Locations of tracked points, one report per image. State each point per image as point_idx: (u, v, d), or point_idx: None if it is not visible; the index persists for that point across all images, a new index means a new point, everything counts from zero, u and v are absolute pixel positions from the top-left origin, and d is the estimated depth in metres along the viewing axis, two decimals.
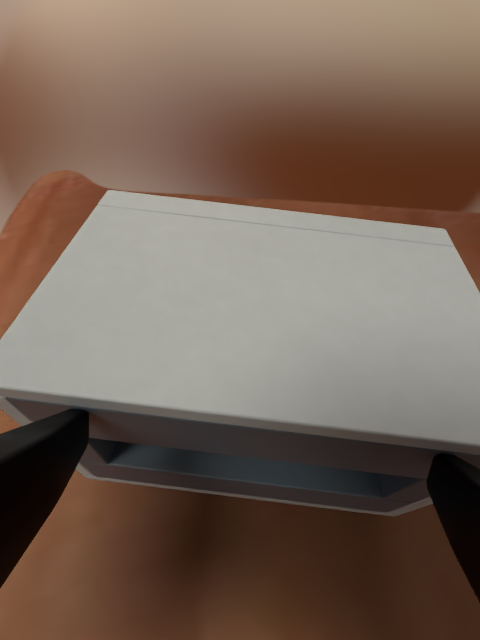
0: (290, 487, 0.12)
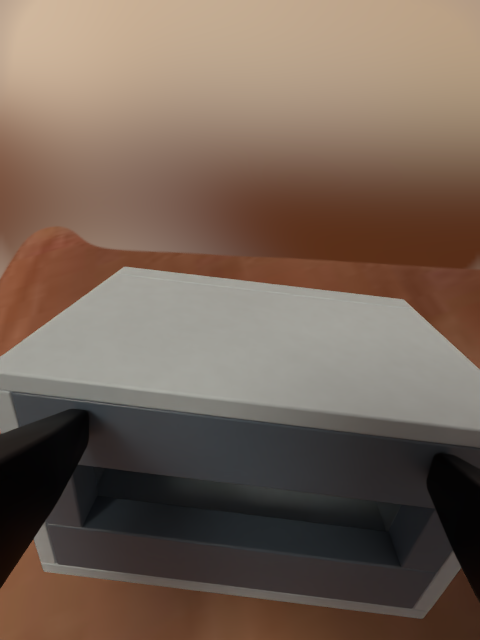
0: (293, 555, 0.10)
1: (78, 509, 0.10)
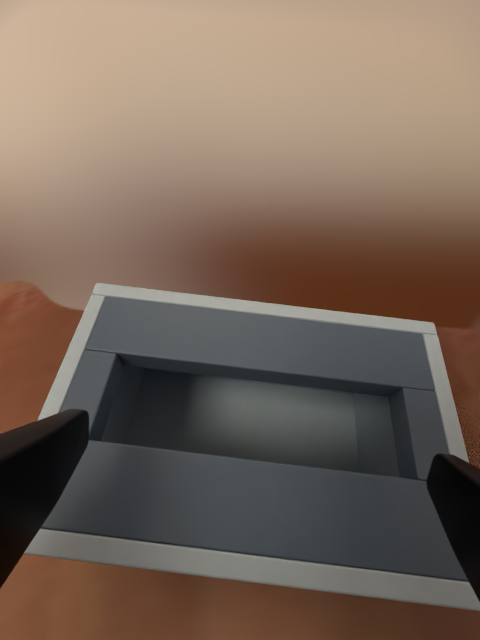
0: (307, 467, 0.10)
1: (97, 410, 0.10)
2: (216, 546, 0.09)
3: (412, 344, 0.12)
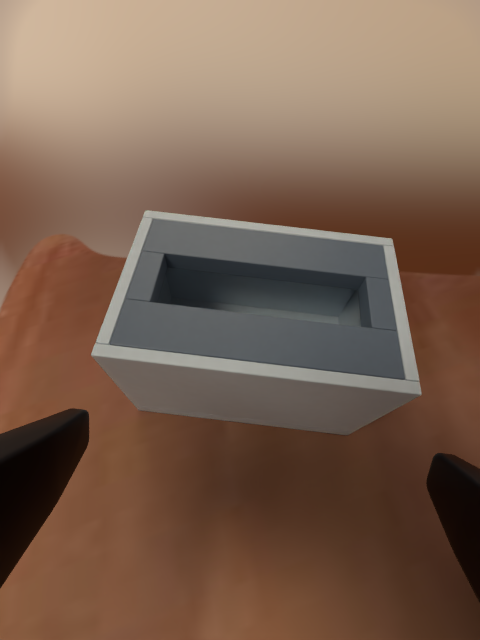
0: (297, 319, 0.15)
1: (154, 285, 0.15)
2: (238, 357, 0.14)
3: (375, 251, 0.17)
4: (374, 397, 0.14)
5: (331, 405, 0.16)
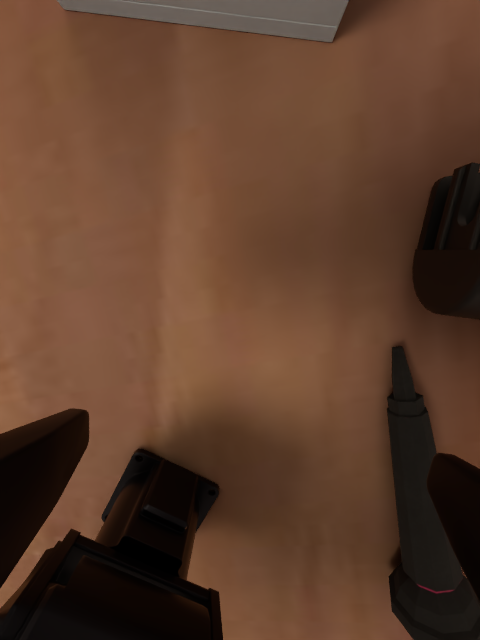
0: None
1: None
2: None
3: None
4: None
5: None
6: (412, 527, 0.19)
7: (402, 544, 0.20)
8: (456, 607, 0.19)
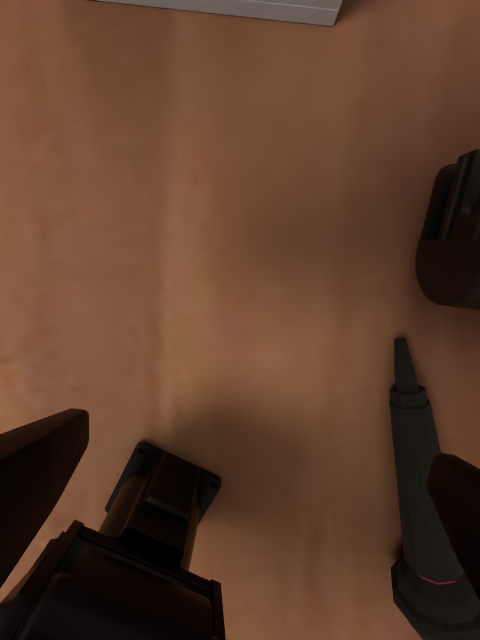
0: None
1: None
2: None
3: None
4: None
5: None
6: (414, 519, 0.19)
7: (404, 536, 0.20)
8: (458, 598, 0.19)
